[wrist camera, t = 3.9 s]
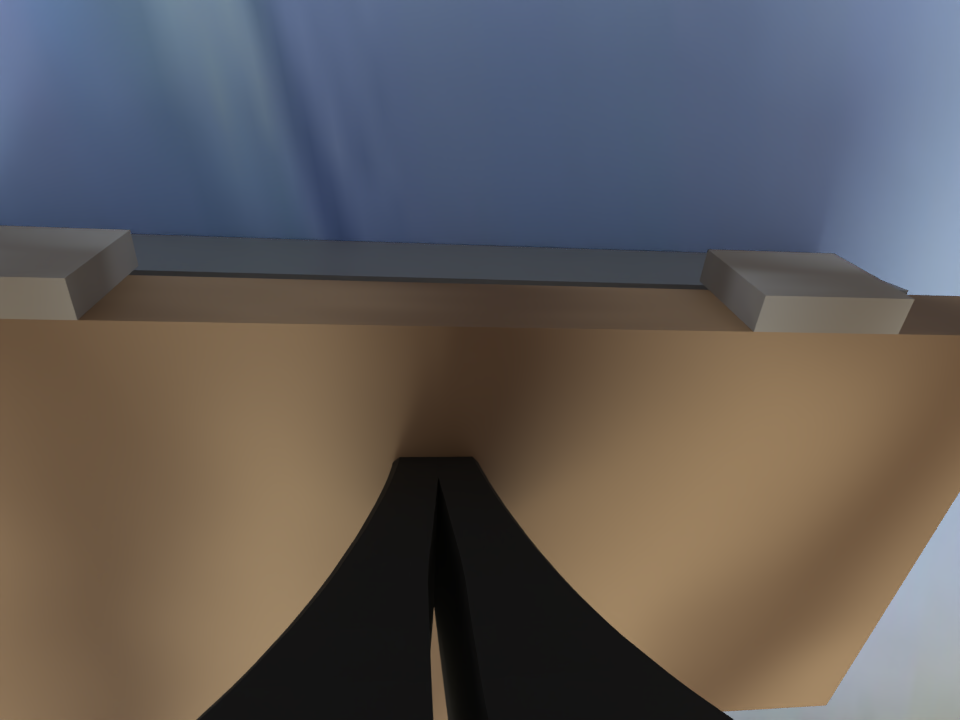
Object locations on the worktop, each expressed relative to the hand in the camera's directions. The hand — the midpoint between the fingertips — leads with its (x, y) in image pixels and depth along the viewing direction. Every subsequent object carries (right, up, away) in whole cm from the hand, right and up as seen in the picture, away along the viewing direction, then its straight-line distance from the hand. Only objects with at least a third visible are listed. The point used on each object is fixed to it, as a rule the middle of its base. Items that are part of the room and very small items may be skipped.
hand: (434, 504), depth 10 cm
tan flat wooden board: (0, 0, +2) cm, 3 cm away
